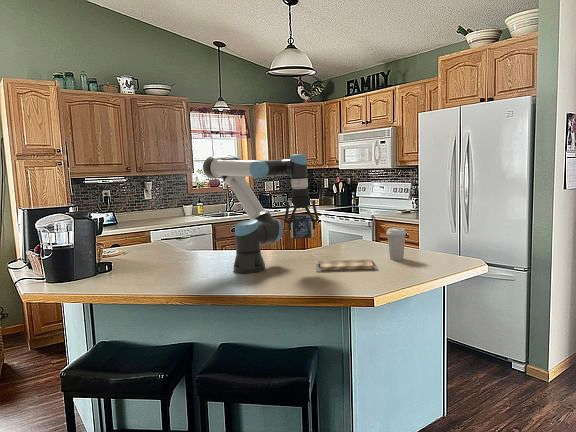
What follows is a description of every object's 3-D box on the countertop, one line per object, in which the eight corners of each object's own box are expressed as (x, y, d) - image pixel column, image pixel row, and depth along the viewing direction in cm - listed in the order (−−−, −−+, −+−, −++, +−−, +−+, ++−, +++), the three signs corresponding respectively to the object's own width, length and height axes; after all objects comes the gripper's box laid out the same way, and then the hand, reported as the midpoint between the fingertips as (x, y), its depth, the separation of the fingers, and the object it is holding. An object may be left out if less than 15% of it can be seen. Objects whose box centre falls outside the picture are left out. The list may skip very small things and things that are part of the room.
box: (294, 239, 200) (293, 216, 199) (293, 237, 206) (292, 215, 205) (311, 238, 201) (310, 215, 200) (309, 236, 207) (308, 213, 206)
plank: (320, 270, 201) (320, 267, 200) (320, 266, 208) (320, 263, 208) (373, 268, 199) (373, 265, 199) (371, 265, 207) (371, 262, 206)
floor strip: (318, 266, 208) (318, 263, 208) (318, 264, 214) (318, 260, 214) (373, 265, 207) (373, 261, 206) (372, 262, 212) (372, 259, 212)
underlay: (316, 272, 200) (316, 271, 200) (316, 264, 215) (316, 263, 215) (378, 270, 198) (378, 269, 198) (374, 262, 213) (374, 262, 213)
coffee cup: (408, 260, 214) (408, 230, 212) (389, 261, 214) (388, 231, 212) (404, 256, 223) (403, 227, 221) (385, 257, 223) (384, 228, 222)
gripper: (275, 189, 198) (278, 239, 201) (323, 187, 197) (325, 237, 199) (277, 188, 206) (280, 236, 208) (323, 186, 204) (325, 234, 207)
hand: (302, 236), depth 204 cm, fingers closed on box, 8 cm apart
